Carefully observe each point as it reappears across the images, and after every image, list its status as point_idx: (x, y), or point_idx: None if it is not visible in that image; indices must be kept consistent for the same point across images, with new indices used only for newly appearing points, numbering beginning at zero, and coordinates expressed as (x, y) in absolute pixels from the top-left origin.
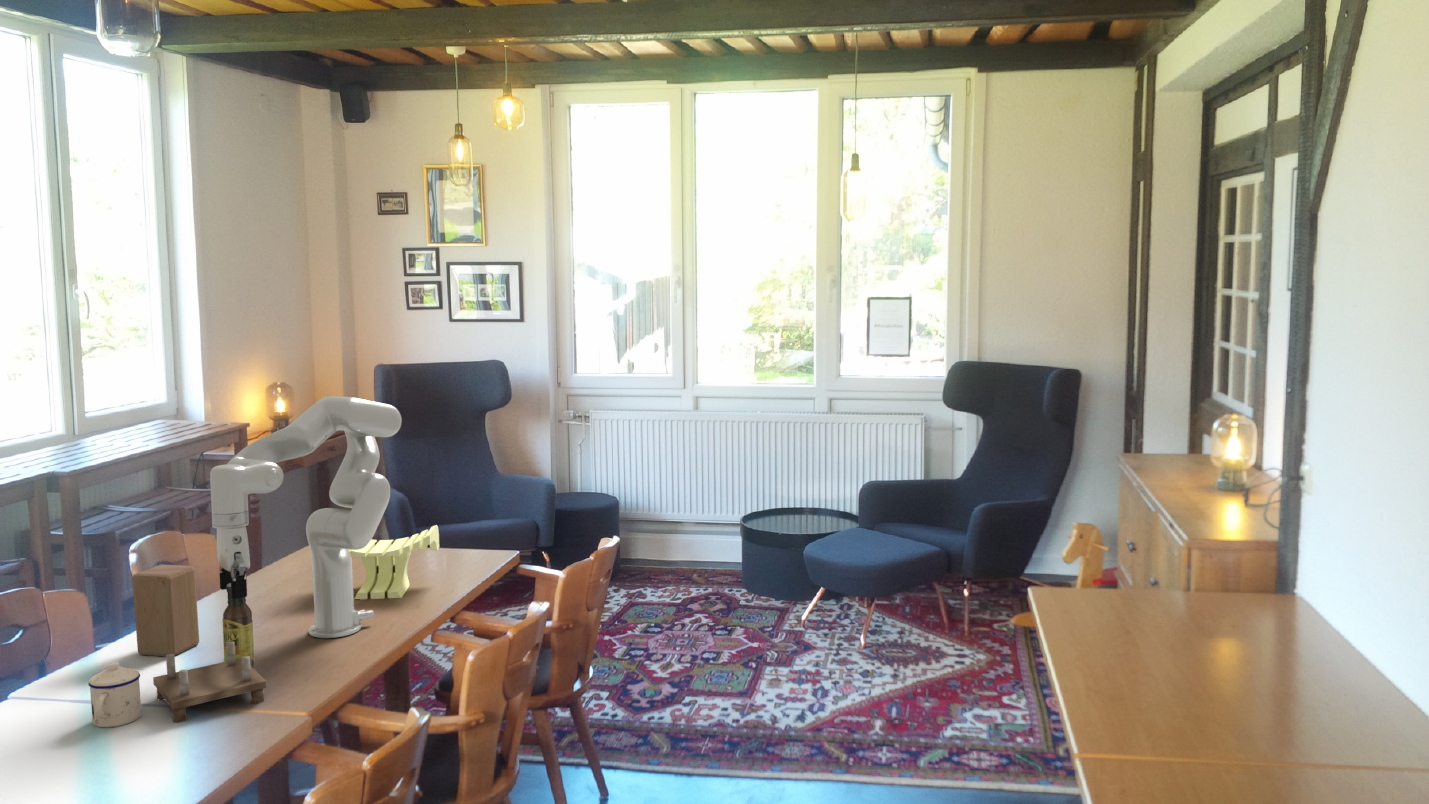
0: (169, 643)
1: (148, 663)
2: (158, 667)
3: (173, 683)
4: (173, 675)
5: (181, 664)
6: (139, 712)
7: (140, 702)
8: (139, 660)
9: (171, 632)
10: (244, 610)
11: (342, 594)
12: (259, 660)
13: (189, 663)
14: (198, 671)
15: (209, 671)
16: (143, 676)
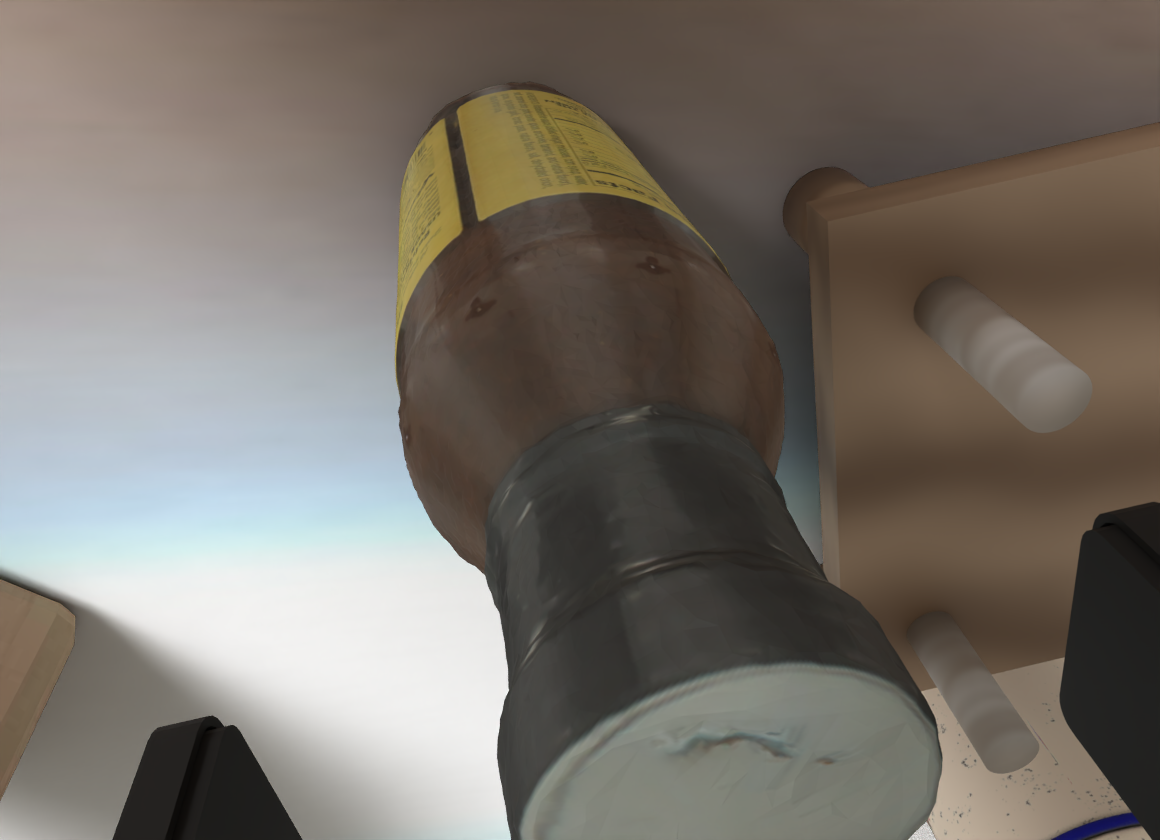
0: (46, 698)
1: (162, 704)
2: (268, 653)
3: (1037, 611)
4: (963, 634)
5: (258, 549)
6: (1054, 661)
7: (1055, 691)
8: (81, 748)
9: (5, 756)
10: (756, 373)
11: None
12: (397, 18)
13: (255, 509)
14: (924, 507)
15: (976, 445)
16: (409, 697)
